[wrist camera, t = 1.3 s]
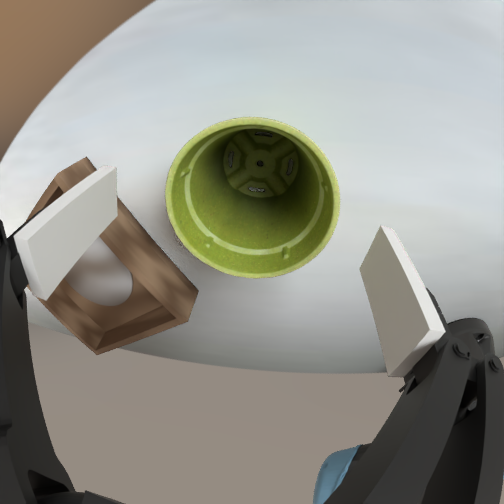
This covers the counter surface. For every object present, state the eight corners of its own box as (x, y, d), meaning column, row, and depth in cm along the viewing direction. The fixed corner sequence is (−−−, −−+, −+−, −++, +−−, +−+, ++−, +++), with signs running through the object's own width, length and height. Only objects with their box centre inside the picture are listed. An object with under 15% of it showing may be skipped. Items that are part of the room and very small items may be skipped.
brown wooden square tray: (198, 290, 30) (187, 321, 27) (109, 331, 37) (97, 355, 33) (86, 156, 23) (57, 173, 19) (24, 240, 30) (4, 259, 26)
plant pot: (329, 113, 19) (357, 133, 12) (310, 221, 25) (320, 287, 17) (206, 100, 20) (163, 114, 12) (203, 208, 25) (170, 268, 18)
